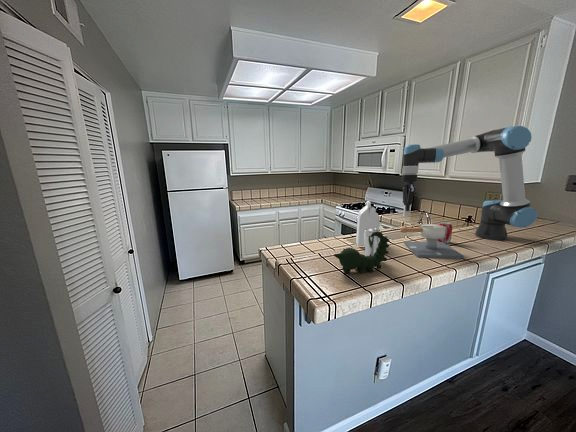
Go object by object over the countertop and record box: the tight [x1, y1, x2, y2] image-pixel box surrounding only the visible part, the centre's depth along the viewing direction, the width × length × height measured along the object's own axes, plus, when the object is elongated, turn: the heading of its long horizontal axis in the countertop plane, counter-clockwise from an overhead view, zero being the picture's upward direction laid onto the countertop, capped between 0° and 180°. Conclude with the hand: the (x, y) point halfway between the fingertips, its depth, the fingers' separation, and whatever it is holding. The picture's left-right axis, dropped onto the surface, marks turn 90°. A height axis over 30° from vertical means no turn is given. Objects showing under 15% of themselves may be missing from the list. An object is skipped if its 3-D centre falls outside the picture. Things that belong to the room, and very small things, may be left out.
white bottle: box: [400, 223, 446, 239], centre depth 121 cm, size 22×11×5 cm, turn 81°
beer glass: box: [364, 228, 380, 256], centre depth 113 cm, size 7×7×15 cm
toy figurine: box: [333, 231, 391, 274], centre depth 100 cm, size 9×19×25 cm
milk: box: [355, 200, 380, 247], centre depth 133 cm, size 12×12×26 cm
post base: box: [403, 237, 465, 260], centre depth 122 cm, size 21×21×8 cm
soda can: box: [437, 221, 453, 245], centre depth 134 cm, size 7×7×12 cm
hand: (406, 216), depth 128 cm, fingers closed
